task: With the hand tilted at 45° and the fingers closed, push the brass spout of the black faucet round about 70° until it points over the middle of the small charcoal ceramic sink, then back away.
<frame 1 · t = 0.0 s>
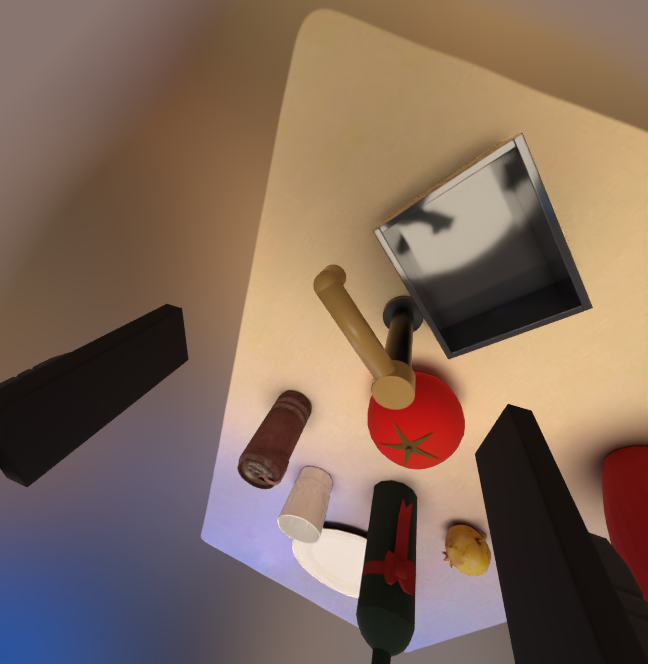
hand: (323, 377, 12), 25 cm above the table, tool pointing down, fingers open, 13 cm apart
faucet base: (403, 313, 36), on the table
sink: (467, 250, 31), on the table
white cup: (316, 476, 57), on the table
tomato: (413, 392, 41), on the table
fruit: (465, 529, 52), on the table
wine bottle: (397, 490, 52), on the table
plate: (351, 558, 68), on the table
can: (296, 403, 49), on the table
faucet spout: (365, 338, 23), point 14 cm above the table, hinge at 0.0°
vase: (635, 462, 36), on the table
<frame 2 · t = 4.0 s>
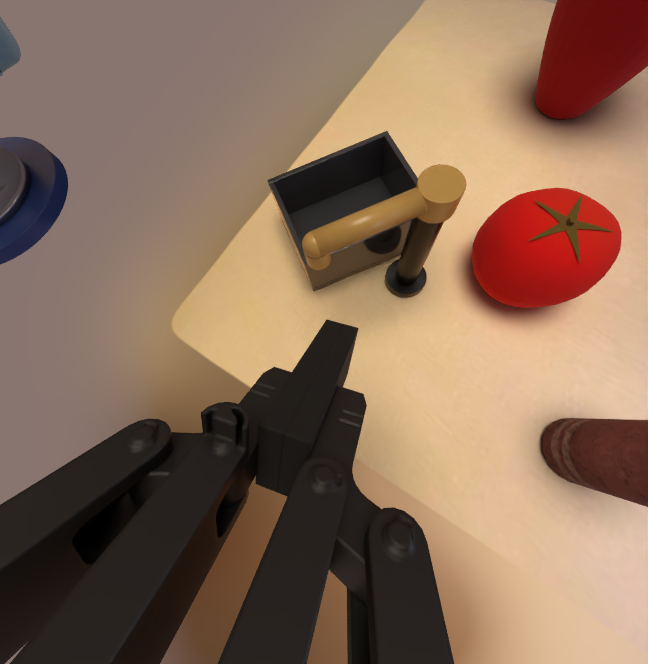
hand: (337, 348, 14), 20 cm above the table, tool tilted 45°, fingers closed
faucet base: (404, 279, 36), on the table
sink: (349, 231, 38), on the table
tomato: (509, 274, 35), on the table
can: (570, 448, 29), on the table
faucet spout: (380, 222, 22), point 14 cm above the table, hinge at 0.0°
vase: (559, 104, 41), on the table
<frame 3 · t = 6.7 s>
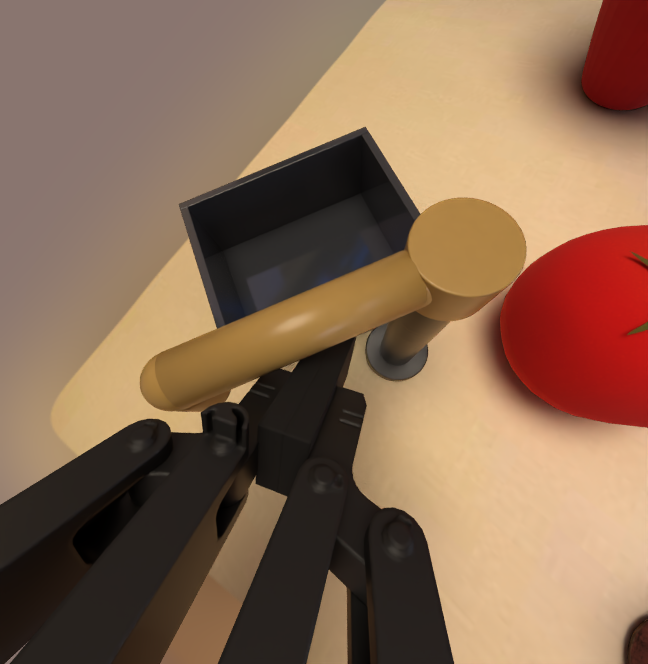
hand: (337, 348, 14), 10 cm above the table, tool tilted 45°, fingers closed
faucet base: (394, 351, 23), on the table
sink: (314, 274, 26), on the table
tomato: (556, 346, 23), on the table
faucet spout: (327, 321, 10), point 14 cm above the table, hinge at 0.0°, touching gripper
vase: (615, 89, 29), on the table
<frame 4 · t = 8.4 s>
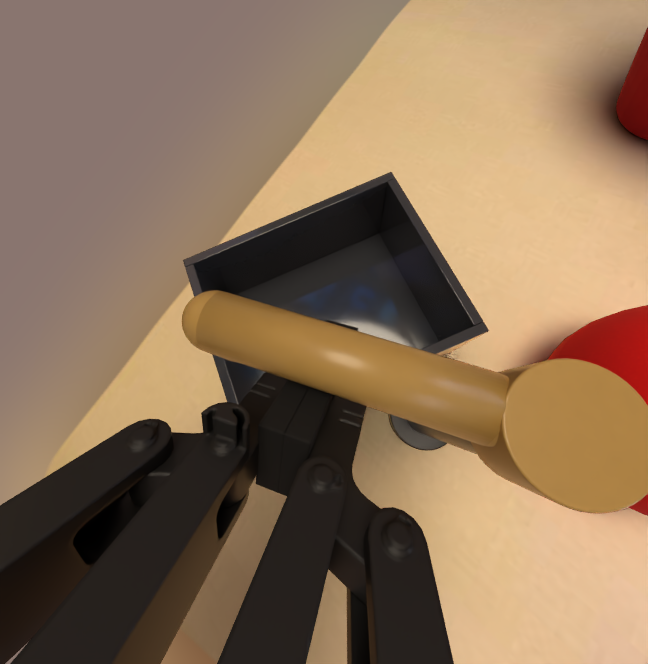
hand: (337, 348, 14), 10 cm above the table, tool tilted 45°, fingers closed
faucet base: (420, 414, 22), on the table
sink: (330, 323, 24), on the table
tomato: (596, 410, 21), on the table
faucet spout: (377, 375, 9), point 14 cm above the table, hinge at -41.5°, touching gripper
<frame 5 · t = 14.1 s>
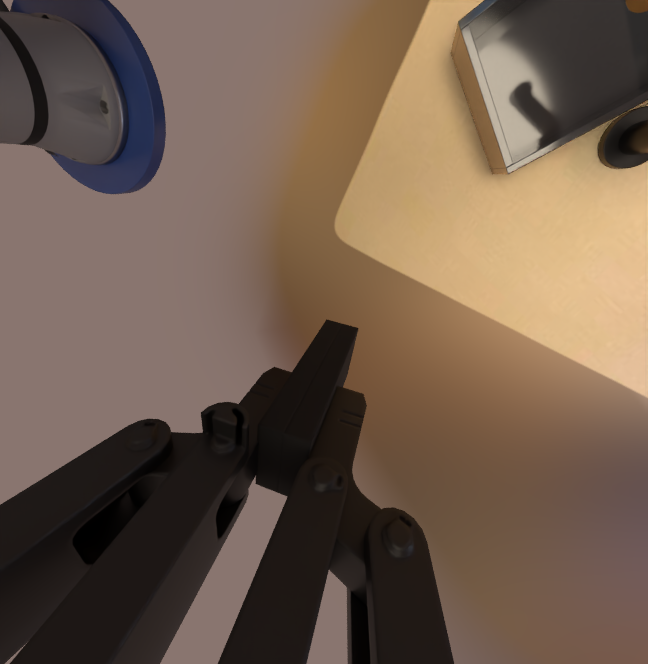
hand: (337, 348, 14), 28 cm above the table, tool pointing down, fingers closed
faucet base: (630, 139, 27), on the table
sink: (560, 59, 26), on the table
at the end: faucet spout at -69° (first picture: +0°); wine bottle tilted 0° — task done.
